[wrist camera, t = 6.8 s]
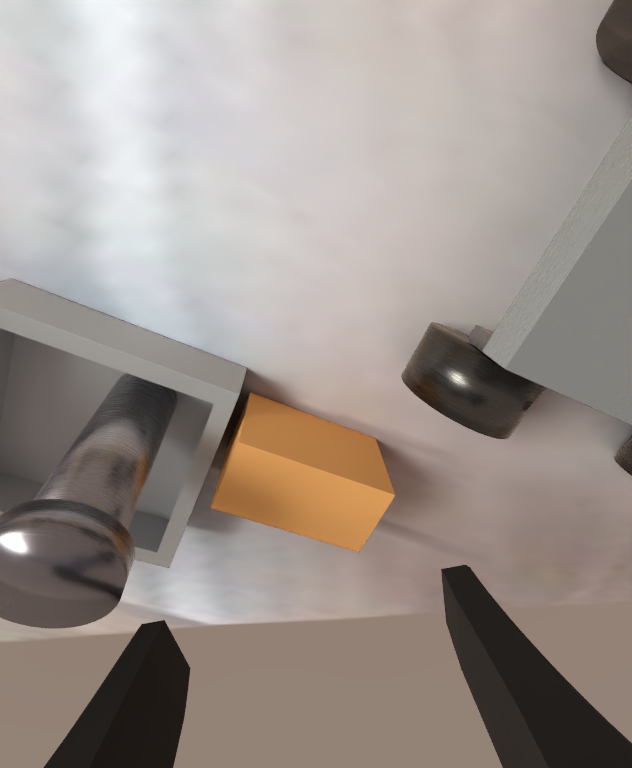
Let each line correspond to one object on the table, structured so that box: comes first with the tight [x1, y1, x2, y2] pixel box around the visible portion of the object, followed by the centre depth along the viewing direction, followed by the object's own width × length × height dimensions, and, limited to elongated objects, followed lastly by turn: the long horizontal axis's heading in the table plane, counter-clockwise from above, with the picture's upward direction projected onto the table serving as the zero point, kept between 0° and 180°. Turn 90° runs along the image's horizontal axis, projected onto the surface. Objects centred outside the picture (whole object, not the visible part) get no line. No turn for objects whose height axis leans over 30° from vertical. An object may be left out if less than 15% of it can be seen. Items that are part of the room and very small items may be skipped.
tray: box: [0, 278, 247, 568], centre depth 16 cm, size 9×9×2 cm
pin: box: [0, 373, 177, 628], centre depth 12 cm, size 3×3×8 cm
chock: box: [211, 392, 395, 552], centre depth 16 cm, size 6×3×4 cm, turn 66°
